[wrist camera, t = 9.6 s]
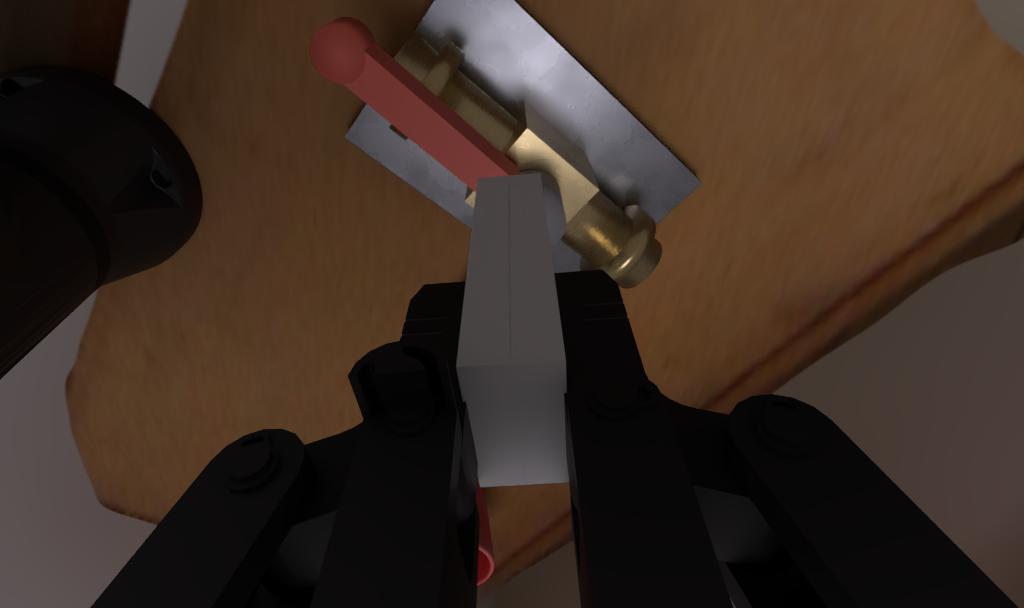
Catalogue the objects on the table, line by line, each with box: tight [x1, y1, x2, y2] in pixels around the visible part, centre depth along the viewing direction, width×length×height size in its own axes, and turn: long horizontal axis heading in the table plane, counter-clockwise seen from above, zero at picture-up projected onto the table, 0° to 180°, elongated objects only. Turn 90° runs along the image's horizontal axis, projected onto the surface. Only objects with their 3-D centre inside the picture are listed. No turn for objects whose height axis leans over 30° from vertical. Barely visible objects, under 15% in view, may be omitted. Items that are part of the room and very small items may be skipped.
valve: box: [345, 0, 702, 288], centre depth 36 cm, size 22×14×8 cm, turn 50°
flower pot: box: [476, 479, 494, 585], centre depth 59 cm, size 11×11×10 cm
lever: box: [309, 17, 566, 247], centre depth 29 cm, size 4×16×4 cm, turn 48°
